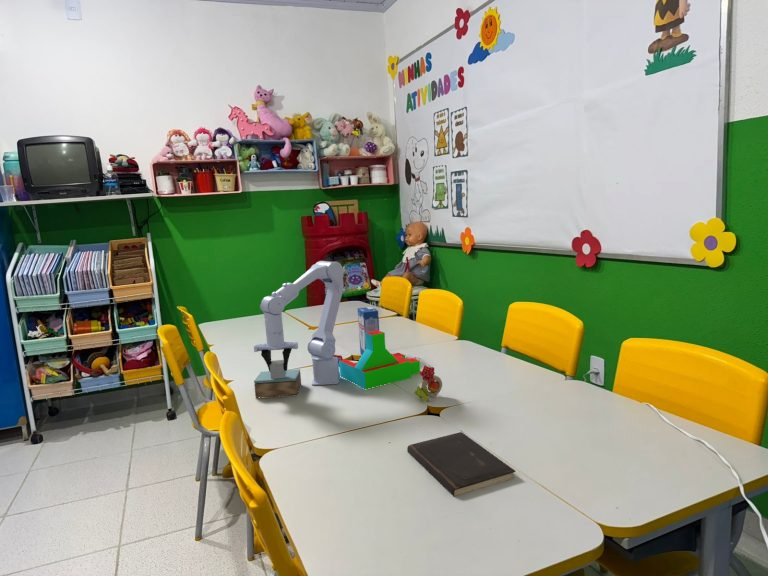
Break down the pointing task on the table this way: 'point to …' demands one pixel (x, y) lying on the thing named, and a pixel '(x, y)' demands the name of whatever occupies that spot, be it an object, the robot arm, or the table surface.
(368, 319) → the milk carton
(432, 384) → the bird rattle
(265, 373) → the lid
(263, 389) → the toy box
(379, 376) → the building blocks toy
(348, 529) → the table surface
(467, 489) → the hardcover book
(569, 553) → the table surface
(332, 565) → the table surface
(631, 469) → the table surface
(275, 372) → the metal weight
